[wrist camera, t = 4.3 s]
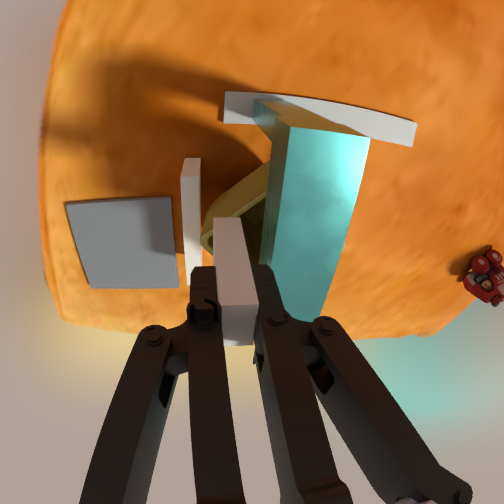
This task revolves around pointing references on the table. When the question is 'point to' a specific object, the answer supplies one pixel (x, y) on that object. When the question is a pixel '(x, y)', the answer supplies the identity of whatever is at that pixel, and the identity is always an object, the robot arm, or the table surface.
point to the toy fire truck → (486, 278)
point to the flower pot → (242, 211)
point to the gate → (307, 200)
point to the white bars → (241, 112)
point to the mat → (126, 242)
